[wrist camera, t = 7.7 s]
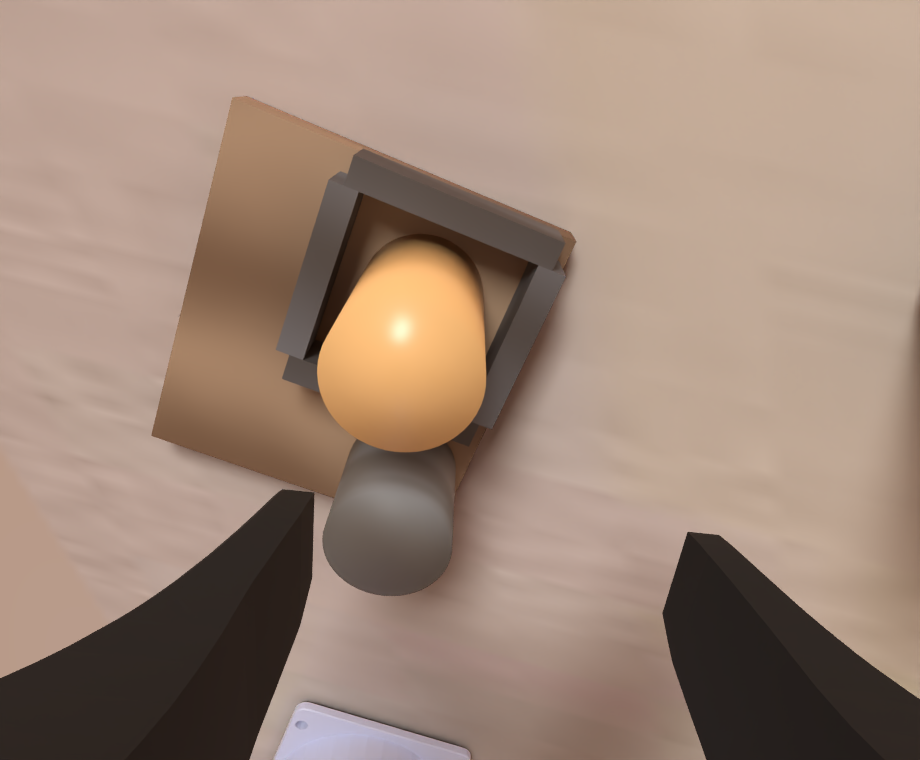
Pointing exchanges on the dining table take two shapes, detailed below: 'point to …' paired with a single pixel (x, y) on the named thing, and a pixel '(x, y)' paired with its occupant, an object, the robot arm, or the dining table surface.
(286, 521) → the robot arm
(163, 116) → the dining table surface
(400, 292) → the orange capsule
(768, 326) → the dining table surface
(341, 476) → the housing
